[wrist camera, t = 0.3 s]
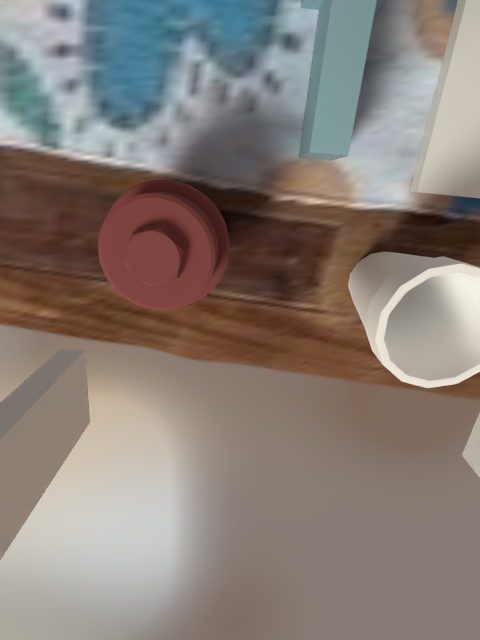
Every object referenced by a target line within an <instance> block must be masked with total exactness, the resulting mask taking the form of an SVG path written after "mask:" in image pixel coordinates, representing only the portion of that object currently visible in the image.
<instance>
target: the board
mask: <svg viewBox="0 0 480 640" xmlns="http://www.w3.org/2000/svg"><path fill="white" fill-rule="evenodd" d="M410 192H419V193H429V194H439V195H449V196H459V197H469V198H479V199H480V0H458V2H457V6H456V10H455V14H454V18H453V22H452V26H451V30H450V34H449V38H448V42H447V46H446V50H445V54H444V58H443V62H442V66H441V70H440V74H439V78H438V82H437V86H436V90H435V94H434V98H433V102H432V106H431V110H430V114H429V117H428V121H427V125H426V129H425V133H424V137H423V141H422V145H421V149H420V153H419V157H418V161H417V165H416V169H415V173H414V177H413V181H412V185H411V189H410Z"/></svg>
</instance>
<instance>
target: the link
mask: <svg viewBox="0 0 480 640" xmlns="http://www.w3.org/2000/svg"><path fill="white" fill-rule="evenodd" d="M384 2H385V0H302V3H301V8H307V9H317V10H319V15H318V22H317V29H316V36H315V43H314V51H313V58H312V65H311V72H310V79H309V87H308V94H307V101H306V108H305V116H304V123H303V130H302V137H301V144H300V152H299V157H301V158H311V159H321V160H334V159H338V158H342V157H346V156H348V153H349V148H350V143H351V137H352V132H353V126H354V121H355V116H356V110H357V105H358V99H359V94H360V88H361V83H362V78H363V72H364V67H365V61H366V56H367V50H368V45H369V40H370V34H371V29H372V23H373V18H374V15H375V13H376V12H377V11H378V9H379V8H380V7H381V5H382V4H383V3H384Z"/></svg>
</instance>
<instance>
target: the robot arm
mask: <svg viewBox="0 0 480 640" xmlns="http://www.w3.org/2000/svg"><path fill="white" fill-rule="evenodd" d="M86 374H87V373H86V359H85V351H82V350H71V349H60V350H59V351H57V352H56V353H55V354H54V355H53V356H52V357H51V358H50V359H49V360H48V361H46V362H45V363H44V364H43V365H42V366H41V367H40V368H39V369H37V371H35V372H34V373H33V374H32V375H31V376H30V377H29V378H28V379H26V380H25V381H24V382H23V383H22V384H21V385H20V386H19V387H18V388H16V389H15V390H14V391H13V392H12V393H11V394H10V395H9V396H8V397H6V398H5V399H4V400H3V401H2V402H1V403H0V560H1V558H2V557H3V555H4V553H5V552H6V550H7V549H8V547H9V546H10V544H11V542H12V541H13V540H14V538H15V537H16V535H17V533H18V532H19V530H20V529H21V527H22V526H23V524H24V523H25V521H26V520H27V518H28V517H29V515H30V513H31V512H32V510H33V509H34V507H35V506H36V504H37V503H38V501H39V500H40V498H41V497H42V494H43V493H44V492H45V490H46V488H47V487H48V486H49V484H50V483H51V481H52V480H53V478H54V477H55V475H56V473H57V472H58V470H59V469H60V467H61V466H62V464H63V463H64V461H65V460H66V458H67V457H68V455H69V453H70V452H71V450H72V449H73V447H74V446H75V444H76V443H77V441H78V440H79V438H80V437H81V435H82V433H83V432H84V430H85V429H86V427H87V426H88V424H89V423H90V416H89V402H88V387H87V375H86ZM462 456H463V457H464V458H465V460H466V461H467V462H468V463H469V465H470V466H471V467H472V468H473V470H474V471H475V472H476V473H477V475H478V476H479V477H480V413H479V416H478V418H477V420H476V423H475V425H474V428H473V430H472V433H471V435H470V437H469V440H468V442H467V445H466V447H465V450H464V452H463V454H462Z"/></svg>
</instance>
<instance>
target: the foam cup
mask: <svg viewBox="0 0 480 640" xmlns="http://www.w3.org/2000/svg"><path fill="white" fill-rule="evenodd" d="M348 287H349V290H350V293H351V296H352V299H353V302H354V304H355V306H356V309H357V311H358V313H359V315H360V318H361V320H362V322H363V324H364V327H365V330H366V333H367V336H368V339H369V342H370V345H371V348H372V351H373V352H374V354H375V355H376V356H377V358H378V359H379V360H380V362H381V363H382V364H383V365H384V366H385V367H386V368H387V369H388V370H389V371H391V372H392V373H393V374H394V375H395V376H396V377H397V378H398V379H400V380H401V381H402V382H406V383H410V384H414V385H418V386H422V387H426V388H431V387H438V386H445V385H452V384H457V383H459V382H461V381H463V380H465V379H467V378H469V377H470V376H472V375H474V374H476V373H478V372H480V268H479V267H476V266H474V265H471V264H468V263H464V262H461V261H457V260H454V259H451V258H447V257H444V256H442V257H437V258H431V257H423V256H416V255H409V254H401V253H394V252H385V251H384V252H378V253H373V254H370V255H368V256H367V257H365V258H364V259H362V260H361V261H359V262H358V263H357V265H356V266H355V268H354V269H353V271H352V272H351V274H350V280H349V286H348Z"/></svg>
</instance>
